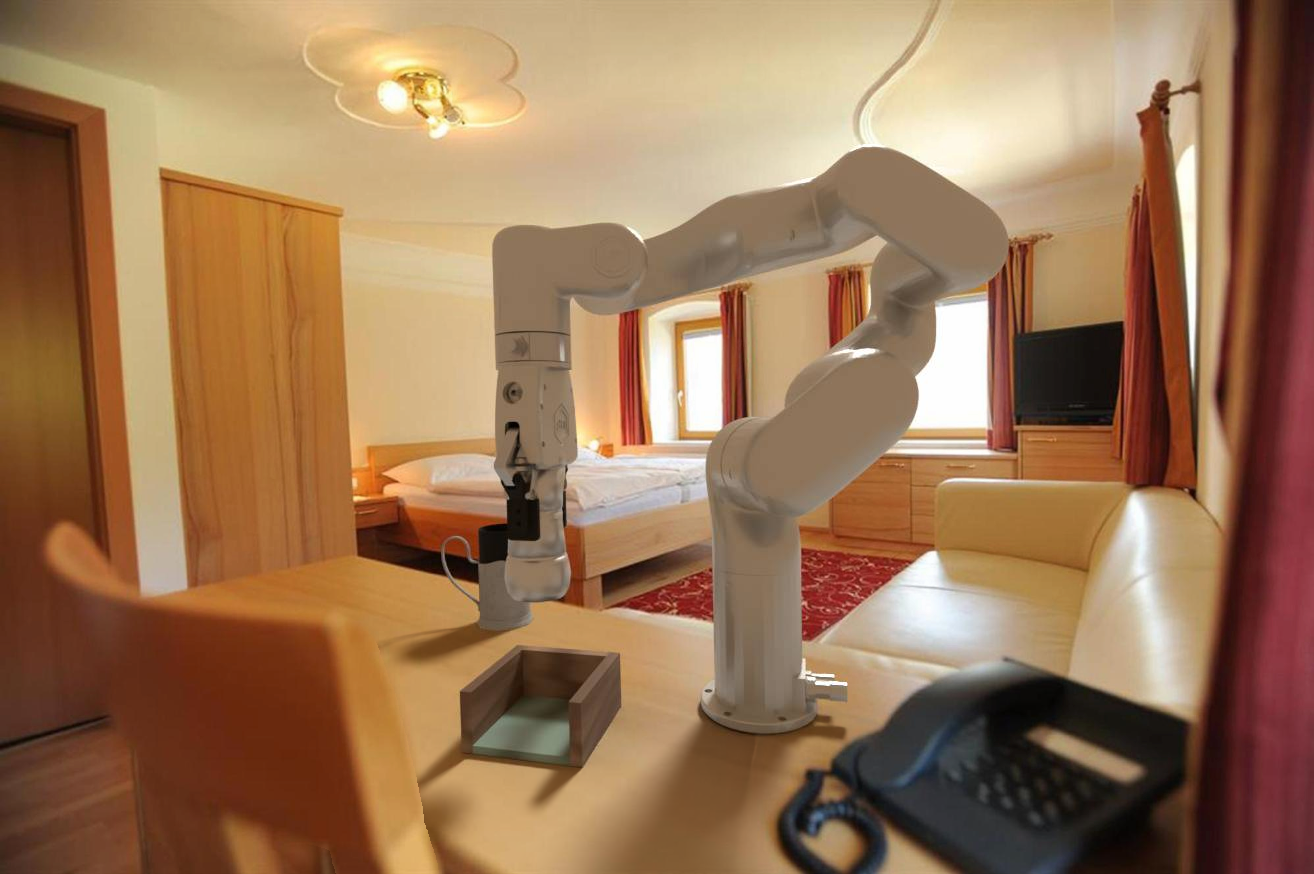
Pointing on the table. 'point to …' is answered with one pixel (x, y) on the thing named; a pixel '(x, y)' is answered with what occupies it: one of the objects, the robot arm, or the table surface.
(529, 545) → the plastic bottle
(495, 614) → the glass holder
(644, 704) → the table surface
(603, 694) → the u rest
